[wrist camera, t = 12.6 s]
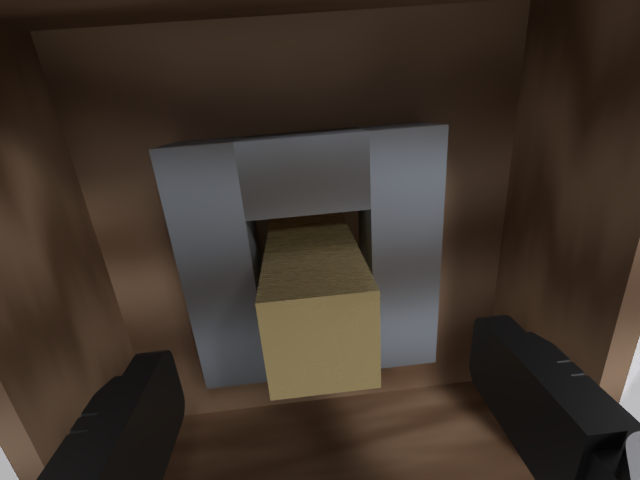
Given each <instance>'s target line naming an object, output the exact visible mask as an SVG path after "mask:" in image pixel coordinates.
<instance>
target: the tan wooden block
mask: <svg viewBox="0 0 640 480" xmlns="http://www.w3.org/2000/svg"><path fill="white" fill-rule="evenodd" d="M255 306H256V313H257V319H258V325H259V332H260V338H261V344H262V350H263V357H264V363H265V369H266V375H267V382H268V388H269V394H270V400H271V401H273V400H281V399H290V398H298V397H307V396H315V395H324V394H332V393H341V392H349V391H358V390H366V389H375V388H381V335H380V290H379V288H378V286H377V284H376V282H375V280H374V277H373V275H372V273H371V271H370V269H369V267H368V265H367V263H366V261H365V259H364V257H363V255H362V253H361V251H360V249H359V247H358V245H357V243H356V241H355V239H354V237H353V235H352V233H351V231H350V229H349V227H348V225H347V223H346V221H345V219H344V217H343V215H342V212H339V213H328V214H318V215H307V216H296V217H286V218H275V219H270V223H269V229H268V234H267V240H266V245H265V251H264V257H263V262H262V268H261V273H260V279H259V284H258V290H257V296H256V301H255Z"/></svg>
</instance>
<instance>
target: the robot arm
mask: <svg viewBox="0 0 640 480" xmlns="http://www.w3.org/2000/svg"><path fill="white" fill-rule="evenodd" d="M469 367H470V374H471V378H472V381H473V383H474V386H475V387H476V389H477V391H478V392H479V394H480V395H481V397H482V398H483V400H484V402H485V403H486V405H487V406H488V408H489V409H490V411H491V412H492V414H493V415H494V417H495V418H496V420H497V422H498V423H499V425H500V426H501V428H502V429H503V431H504V432H505V434H506V435H507V437H508V439H509V440H510V442H511V443H512V445H513V446H514V448H515V449H516V451H517V452H518V454H519V455H520V457H521V459H522V460H523V462H524V463H525V465H526V466H527V468H528V469H529V471H530V472H531V474H532V475H533V477H534V479H535V480H640V423H639V422H638V421H637V420H636V419H635V418H634V417H633V416H632V415H631V414H630V413H628V412H627V411H626V410H625V409H624V408H623V407H622V406H621V405H620V404H619V403H618V402H616V401H615V400H614V399H613V398H612V397H611V396H610V395H609V394H608V393H607V392H606V391H604V390H603V389H602V388H601V387H600V386H599V385H598V384H597V383H596V382H595V381H594V380H592V379H591V378H590V377H589V376H586V375H585V374H584V371H583V370H582V369H580V368H579V367H578V366H577V365H576V364H575V363H574V362H571V361H570V358H568V357H567V356H566V355H565V354H564V353H563V352H562V351H561V350H560V349H559V348H558V347H556V346H555V345H554V344H553V343H551V342H549V341H548V340H546V339H544V338H542V337H540V336H538V335H537V334H535V333H533V332H526V331H525V330H524V329H523V328H522V327H521V326H520V325H519V324H518V323H517V322H516V321H515V320H513V319H512V318H511V317H510V316H508V315H497V316H487V317H478V318H476V320H475V321H474V326H473V335H472V344H471V353H470V363H469ZM184 412H185V398H184V393H183V389H182V386H181V382H180V379H179V375H178V372H177V368H176V364H175V361H174V357H173V355H172V353H171V351H170V350H161V351H152V352H143V353H137V354H136V355H135V356H134V357H133V359H132V360H131V362H130V363H129V365H128V367H127V368H126V370H125V371H124V373H123V375H122V376H115V377H113V378H112V379H111V380H110V381H109V382H107V383H106V384H105V385H104V386H103V387H102V388H101V389H99V390H98V391H97V392H96V393H95V394H94V395H93V397H92V398H91V400H90V401H89V403H88V404H87V406H86V407H85V409H84V410H83V412H82V413H81V417H78V419H77V420H76V422H75V423H74V425H73V426H72V428H71V429H70V434H69V435H66V437H65V438H64V440H63V441H62V443H61V444H60V445H59V447H58V448H57V450H56V451H55V453H54V454H53V456H52V457H51V459H50V460H49V462H48V463H47V465H46V466H45V468H44V469H43V471H42V472H41V474H40V475H39V476H38V478H37V479H36V480H163V478H164V475H165V472H166V469H167V466H168V463H169V460H170V457H171V454H172V451H173V448H174V446H175V443H176V440H177V437H178V434H179V431H180V428H181V425H182V422H183V418H184Z"/></svg>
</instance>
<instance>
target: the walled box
mask: <svg viewBox="0 0 640 480" xmlns="http://www.w3.org/2000/svg"><path fill="white" fill-rule="evenodd" d="M339 212H342V215H343V217H344V219H345V221H346V223H347V225H348V227H349V229H350V231H351V233H352V235H353V237H354V239H355V241H356V243H357V245H358V247H359V249H360V251H361V253H362V255H363V257H364V259H365V261H366V263H367V265H368V267H369V269H370V271H371V273H372V275H373V277H374V280H375V282H376V284H377V286H378V288H379V290H380V335H381V388H375V389H366V390H358V391H349V392H341V393H332V394H324V395H315V396H307V397H298V398H290V399H281V400H273V401H271V400H270V394H269V388H268V382H267V375H266V369H265V363H264V357H263V350H262V344H261V338H260V332H259V325H258V319H257V313H256V306H255V301H256V296H257V290H258V284H259V279H260V273H261V268H262V262H263V257H264V251H265V245H266V240H267V234H268V229H269V223H270V219H275V218H286V217H296V216H307V215H318V214H328V213H339ZM497 315H508V316H510V317H511V318H512V319H513V320H515V321H516V322H517V323H518V324H519V325H520V326H521V327H522V328H523V329H524V330H525V331H526V332H533V333H535V334H537V335H538V336H540V337H542V338H544V339H546V340H548V341H549V342H551V343H553V344H554V345H555V346H556V347H558V348H559V349H560V350H561V351H562V352H563V353H564V354H565V355H566V356H567V357H568V358H570V361H571V362H574V363H575V364H576V365H577V366H578V367H579V368H580V369H582V370H583V371H584V374H585V375H586V376H589V377H590V378H591V379H592V380H594V381H595V382H596V383H597V384H598V385H599V386H600V387H601V388H602V389H603V390H604V391H606V392H607V393H608V394H609V395H610V396H611V397H612V398H613V399H614V400H615V401H616V402H618V403H619V402H620V398H621V395H622V392H623V388H624V385H625V382H626V379H627V375H628V372H629V369H630V366H631V362H632V359H633V356H634V352H635V349H636V346H637V343H638V339H639V336H640V0H0V446H1V448H2V449H3V451H4V453H5V455H6V457H7V458H8V460H9V462H10V464H11V466H12V468H13V469H14V471H15V473H16V475H17V477H18V478H19V480H36V479H37V478H38V476H39V475H40V474H41V472H42V471H43V469H44V468H45V466H46V465H47V463H48V462H49V460H50V459H51V457H52V456H53V454H54V453H55V451H56V450H57V448H58V447H59V445H60V444H61V443H62V441H63V440H64V438H65V437H66V435H69V434H70V429H71V428H72V426H73V425H74V423H75V422H76V420H77V419H78V417H81V413H82V412H83V410H84V409H85V407H86V406H87V404H88V403H89V401H90V400H91V398H92V397H93V395H94V394H95V393H96V392H97V391H98V390H99V389H101V388H102V387H103V386H104V385H105V384H106V383H107V382H109V381H110V380H111V379H112V378H113V377H115V376H122V375H123V373H124V371H125V370H126V368H127V367H128V365H129V363H130V362H131V360H132V359H133V357H134V356H135V355H136V354H137V353H143V352H152V351H161V350H170V351H171V353H172V355H173V357H174V361H175V364H176V368H177V372H178V375H179V379H180V382H181V386H182V389H183V393H184V398H185V412H184V418H183V422H182V425H181V428H180V431H179V434H178V437H177V440H176V443H175V446H174V448H173V451H172V454H171V457H170V460H169V463H168V466H167V469H166V472H165V475H164V478H163V480H535V479H534V477H533V475H532V474H531V472H530V471H529V469H528V468H527V466H526V465H525V463H524V462H523V460H522V459H521V457H520V455H519V454H518V452H517V451H516V449H515V448H514V446H513V445H512V443H511V442H510V440H509V439H508V437H507V435H506V434H505V432H504V431H503V429H502V428H501V426H500V425H499V423H498V422H497V420H496V418H495V417H494V415H493V414H492V412H491V411H490V409H489V408H488V406H487V405H486V403H485V402H484V400H483V398H482V397H481V395H480V394H479V392H478V391H477V389H476V387H475V386H474V383H473V381H472V378H471V374H470V367H469V363H470V353H471V344H472V335H473V326H474V321H475V320H476V318H478V317H487V316H497Z"/></svg>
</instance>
